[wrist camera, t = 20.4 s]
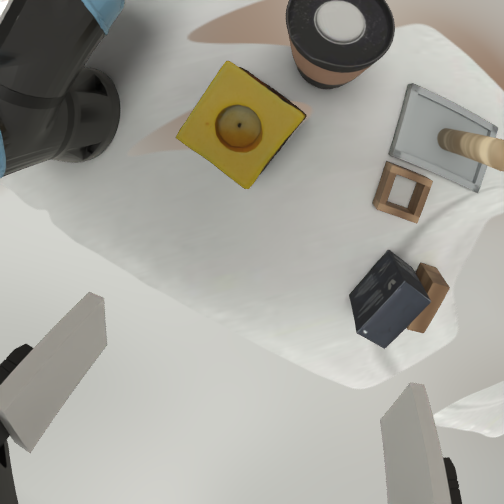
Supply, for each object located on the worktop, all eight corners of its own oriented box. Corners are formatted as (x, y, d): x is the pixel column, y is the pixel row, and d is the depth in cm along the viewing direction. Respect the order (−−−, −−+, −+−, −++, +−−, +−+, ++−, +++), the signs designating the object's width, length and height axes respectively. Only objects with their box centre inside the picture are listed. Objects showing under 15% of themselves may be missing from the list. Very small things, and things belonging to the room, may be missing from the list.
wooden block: (398, 306, 46) (407, 329, 41) (420, 262, 43) (433, 282, 37) (414, 310, 46) (423, 333, 41) (436, 267, 42) (449, 287, 37)
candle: (244, 68, 36) (226, 55, 27) (308, 114, 37) (309, 113, 28) (200, 130, 40) (170, 136, 31) (260, 174, 42) (247, 192, 33)
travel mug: (357, 40, 32) (397, -15, 14) (352, 95, 35) (394, 80, 17) (297, 32, 33) (287, -33, 15) (292, 87, 36) (279, 61, 18)
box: (374, 311, 47) (384, 351, 39) (348, 294, 47) (354, 333, 38) (413, 267, 43) (433, 302, 35) (387, 247, 43) (404, 280, 34)
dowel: (434, 145, 35) (487, 163, 22) (440, 124, 33) (496, 134, 21) (452, 153, 35) (508, 176, 22) (458, 133, 33) (517, 148, 21)
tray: (388, 154, 37) (392, 156, 36) (408, 84, 33) (412, 83, 31) (471, 189, 37) (477, 193, 35) (491, 126, 32) (498, 127, 31)
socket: (372, 202, 40) (376, 209, 38) (386, 161, 38) (392, 164, 35) (410, 216, 40) (417, 223, 37) (425, 176, 38) (433, 181, 35)
